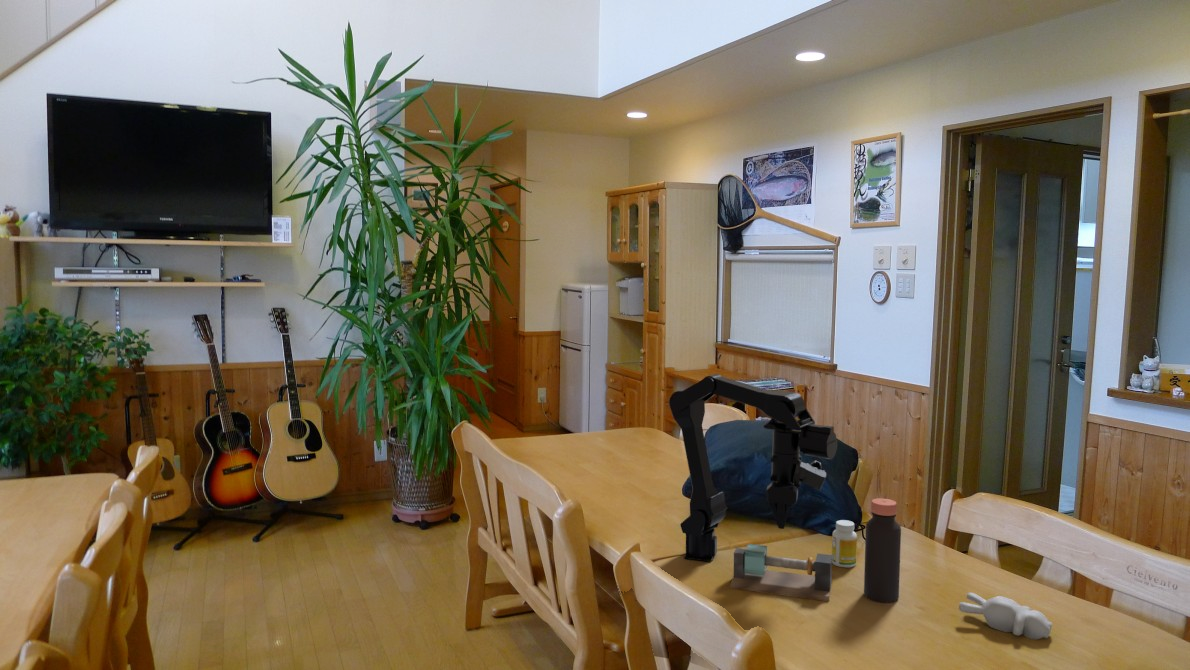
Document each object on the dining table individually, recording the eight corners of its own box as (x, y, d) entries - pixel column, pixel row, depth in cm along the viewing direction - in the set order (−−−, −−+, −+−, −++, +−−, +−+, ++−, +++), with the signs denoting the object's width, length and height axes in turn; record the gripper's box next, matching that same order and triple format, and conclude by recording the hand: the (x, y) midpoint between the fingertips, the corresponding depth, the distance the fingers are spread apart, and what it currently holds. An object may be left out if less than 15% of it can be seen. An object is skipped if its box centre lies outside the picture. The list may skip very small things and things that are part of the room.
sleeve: (744, 573, 170) (744, 551, 170) (748, 565, 175) (748, 543, 174) (763, 575, 169) (763, 553, 168) (766, 567, 173) (767, 545, 173)
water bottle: (899, 592, 166) (903, 499, 164) (897, 605, 160) (900, 508, 158) (865, 587, 169) (868, 495, 167) (861, 599, 163) (864, 504, 161)
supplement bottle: (826, 563, 182) (827, 522, 182) (840, 557, 186) (841, 517, 185) (847, 570, 178) (848, 528, 177) (860, 564, 182) (862, 523, 181)
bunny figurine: (1047, 627, 142) (958, 596, 151) (1042, 654, 143) (954, 621, 152) (1056, 609, 149) (971, 580, 158) (1051, 634, 150) (967, 604, 159)
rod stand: (730, 588, 169) (731, 556, 168) (738, 570, 178) (738, 540, 178) (828, 601, 162) (829, 568, 161) (831, 582, 171) (832, 550, 171)
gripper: (823, 465, 160) (820, 540, 162) (826, 444, 178) (823, 512, 180) (767, 460, 164) (764, 534, 165) (775, 440, 181) (772, 506, 183)
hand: (783, 521), depth 173 cm, fingers open, 9 cm apart
